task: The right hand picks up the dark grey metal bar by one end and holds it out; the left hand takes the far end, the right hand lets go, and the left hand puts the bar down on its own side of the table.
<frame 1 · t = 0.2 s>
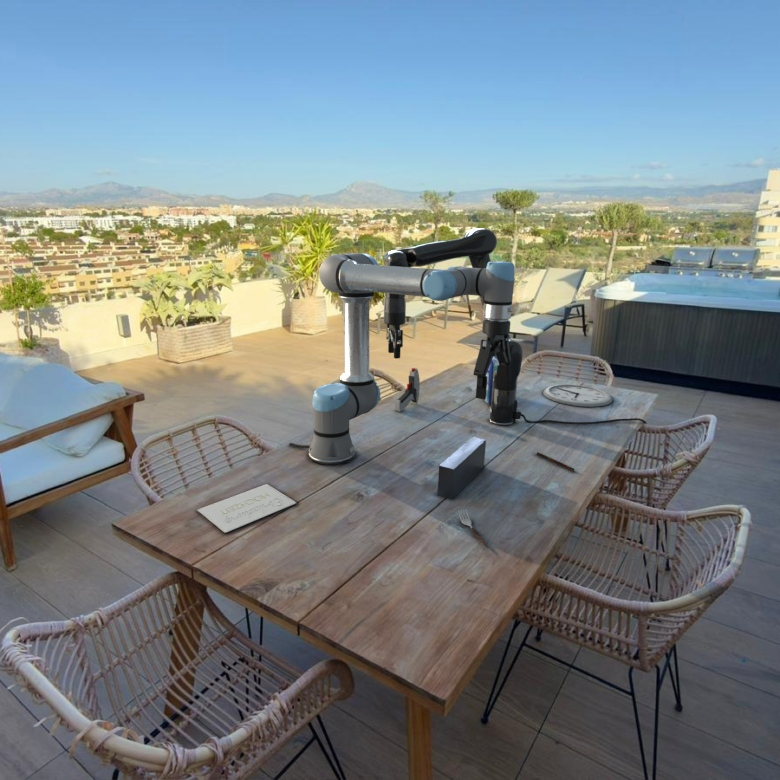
left hand: (490, 392, 150), 28 cm above the table, tool pointing down, fingers open, 13 cm apart
right hand: (394, 355, 187), 29 cm above the table, tool pointing down, fingers open, 8 cm apart
wall clock: (577, 396, 240), on the table
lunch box: (491, 399, 234), on the table
fork: (473, 532, 131), on the table
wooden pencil: (554, 463, 171), on the table
invitation card: (247, 507, 141), on the table
bar: (462, 480, 158), on the table
toy gun: (407, 407, 221), on the table
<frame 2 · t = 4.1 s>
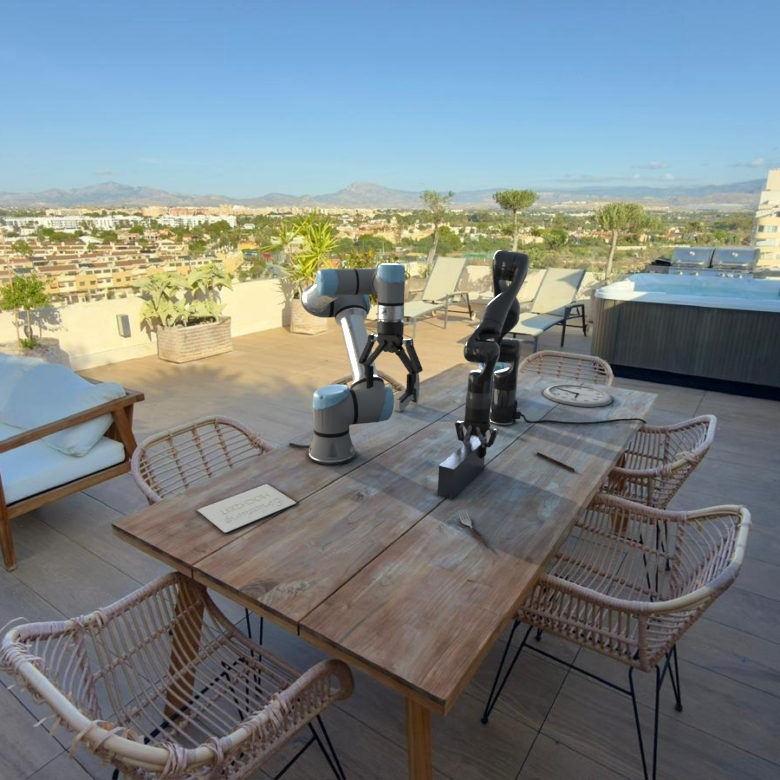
left hand: (389, 391, 154), 27 cm above the table, tool pointing down, fingers open, 13 cm apart
right hand: (474, 455, 164), 5 cm above the table, tool pointing down, fingers closed on bar, 4 cm apart
bar: (462, 480, 158), on the table, touching right hand
everything else where it was.
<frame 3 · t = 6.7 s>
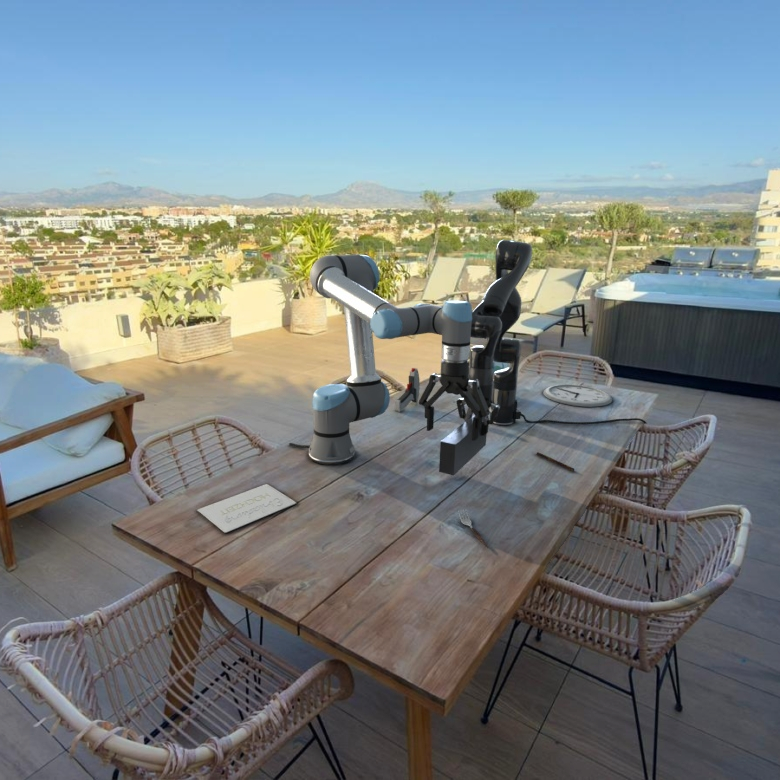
left hand: (451, 434, 145), 18 cm above the table, tool pointing down, fingers open, 13 cm apart
right hand: (476, 433, 162), 12 cm above the table, tool pointing down, fingers closed on bar, 4 cm apart
bar: (463, 457, 156), point 7 cm above the table, touching right hand
everything else where it was.
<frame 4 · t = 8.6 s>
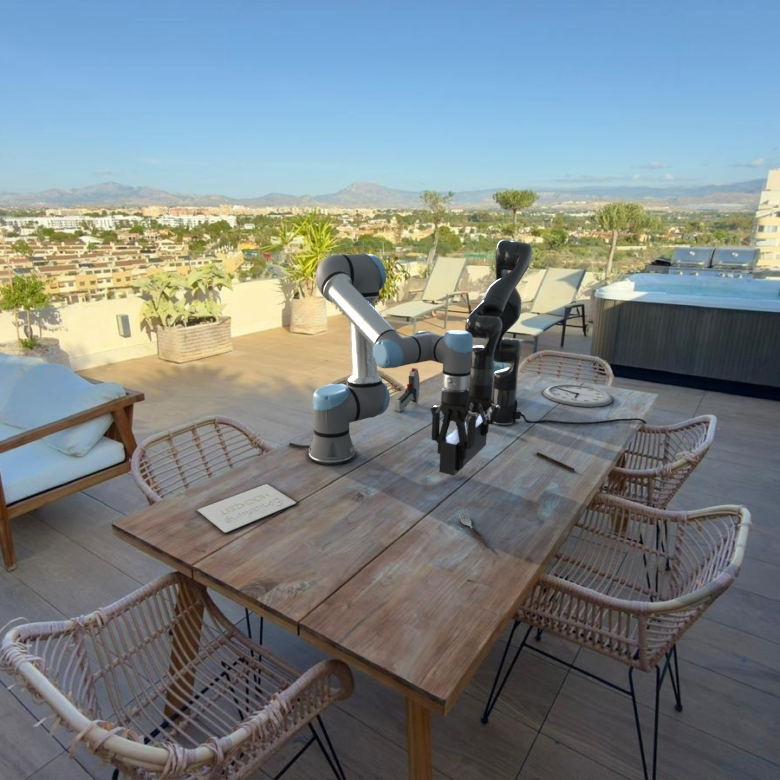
left hand: (451, 466, 148), 8 cm above the table, tool pointing down, fingers closed on bar, 4 cm apart
right hand: (476, 433, 162), 12 cm above the table, tool pointing down, fingers closed on bar, 4 cm apart
bar: (463, 457, 156), point 7 cm above the table, touching right hand, left hand
everything else where it was.
when the right hand's fingers open (12 cm above the table, at t = 9.3 s): bar stays where it is, held by the left hand.
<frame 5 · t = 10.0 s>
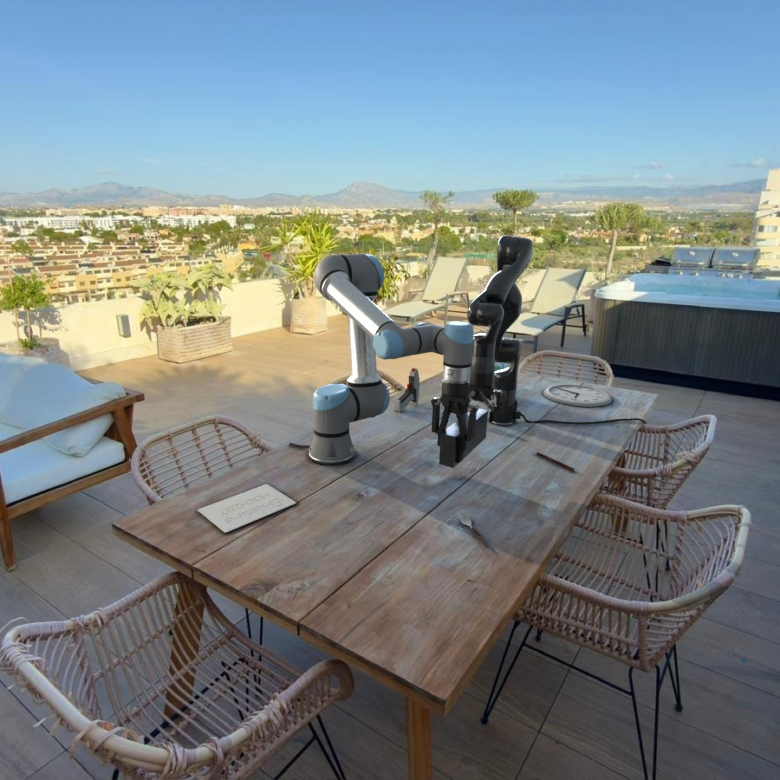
left hand: (451, 458, 148), 11 cm above the table, tool pointing down, fingers closed on bar, 4 cm apart
right hand: (478, 419, 162), 16 cm above the table, tool pointing down, fingers open, 8 cm apart
bar: (463, 450, 156), point 10 cm above the table, touching left hand
everything else where it was.
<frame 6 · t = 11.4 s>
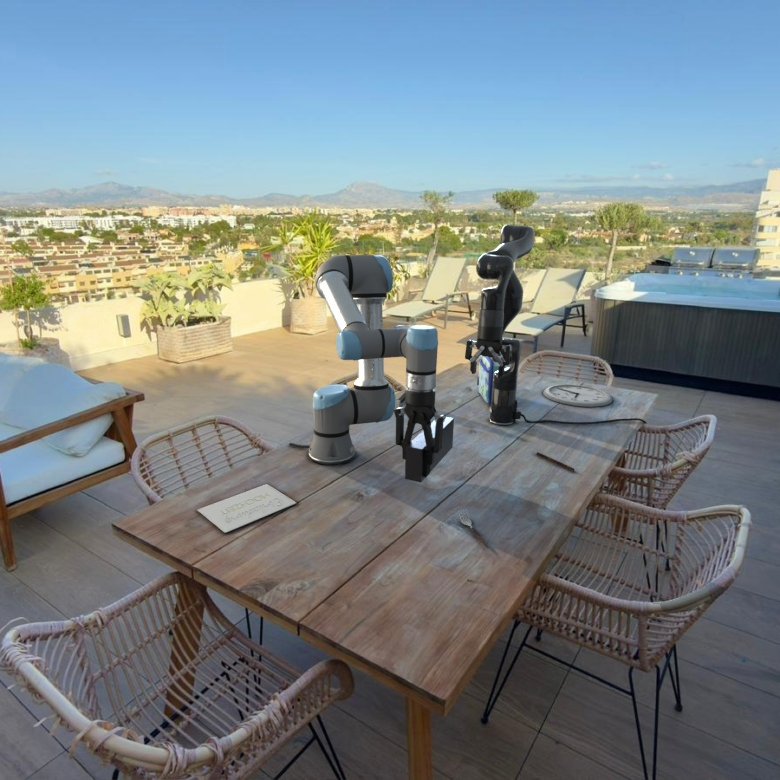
left hand: (417, 472, 137), 11 cm above the table, tool pointing down, fingers closed on bar, 4 cm apart
right hand: (486, 375, 162), 29 cm above the table, tool pointing down, fingers open, 8 cm apart
bar: (430, 462, 146), point 10 cm above the table, touching left hand
everything else where it was.
when the left hand's fingers open (2 cm above the table, at t = 14.2 s): bar stays where it is, on the table.
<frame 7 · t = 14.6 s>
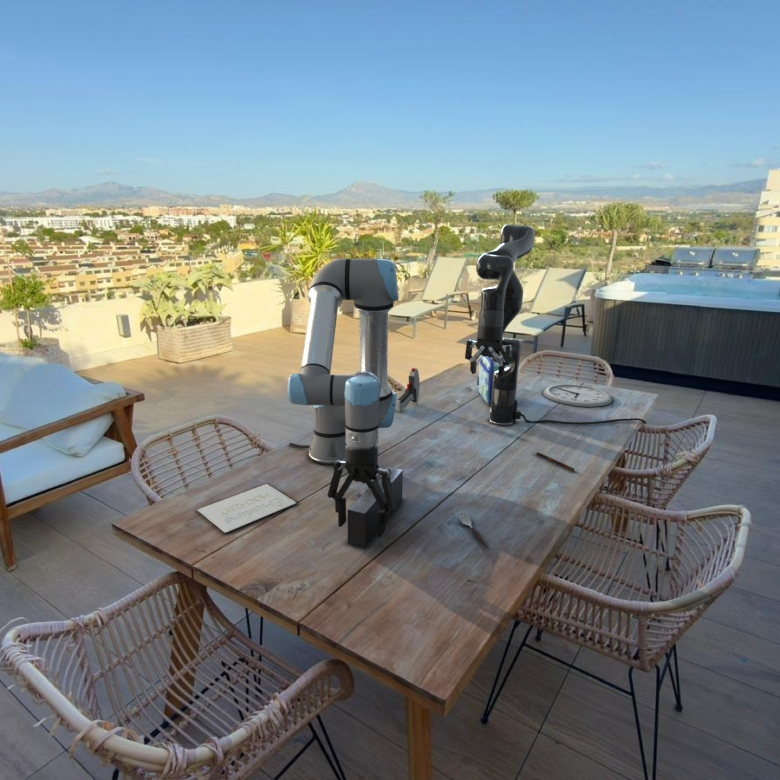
left hand: (361, 528, 127), 3 cm above the table, tool pointing down, fingers open, 10 cm apart
right hand: (486, 375, 162), 29 cm above the table, tool pointing down, fingers open, 8 cm apart
bar: (377, 520, 136), on the table
everything else where it was.
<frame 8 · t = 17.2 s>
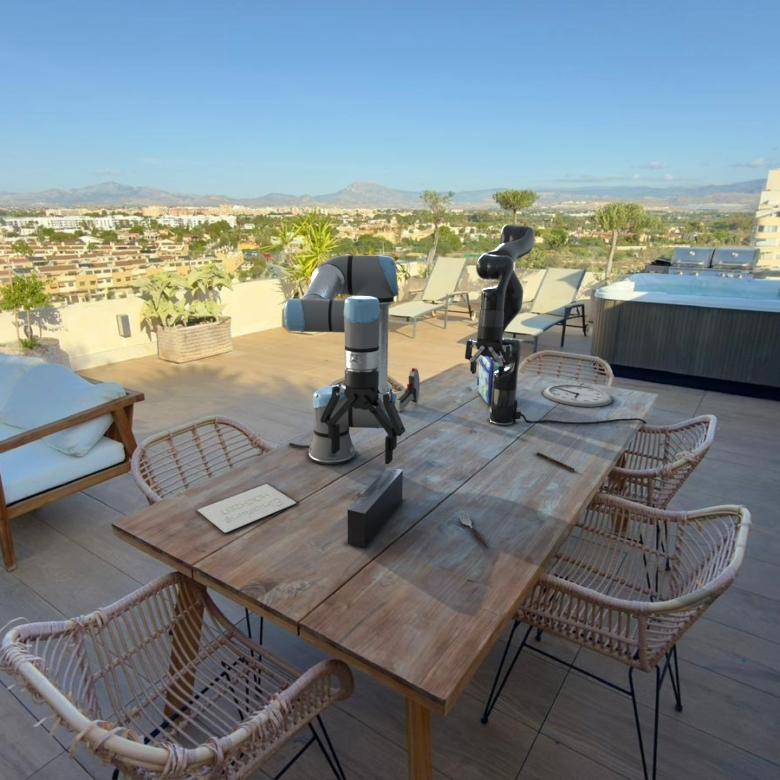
left hand: (361, 456, 121), 22 cm above the table, tool pointing down, fingers open, 13 cm apart
right hand: (486, 375, 162), 29 cm above the table, tool pointing down, fingers open, 8 cm apart
nothing on the table moved.
at the end: bar inside the target area (9.4 cm from its centre), on the table; the left hand is holding nothing; the right hand is holding nothing; bar at rest at the end (0.0 cm/s) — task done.
